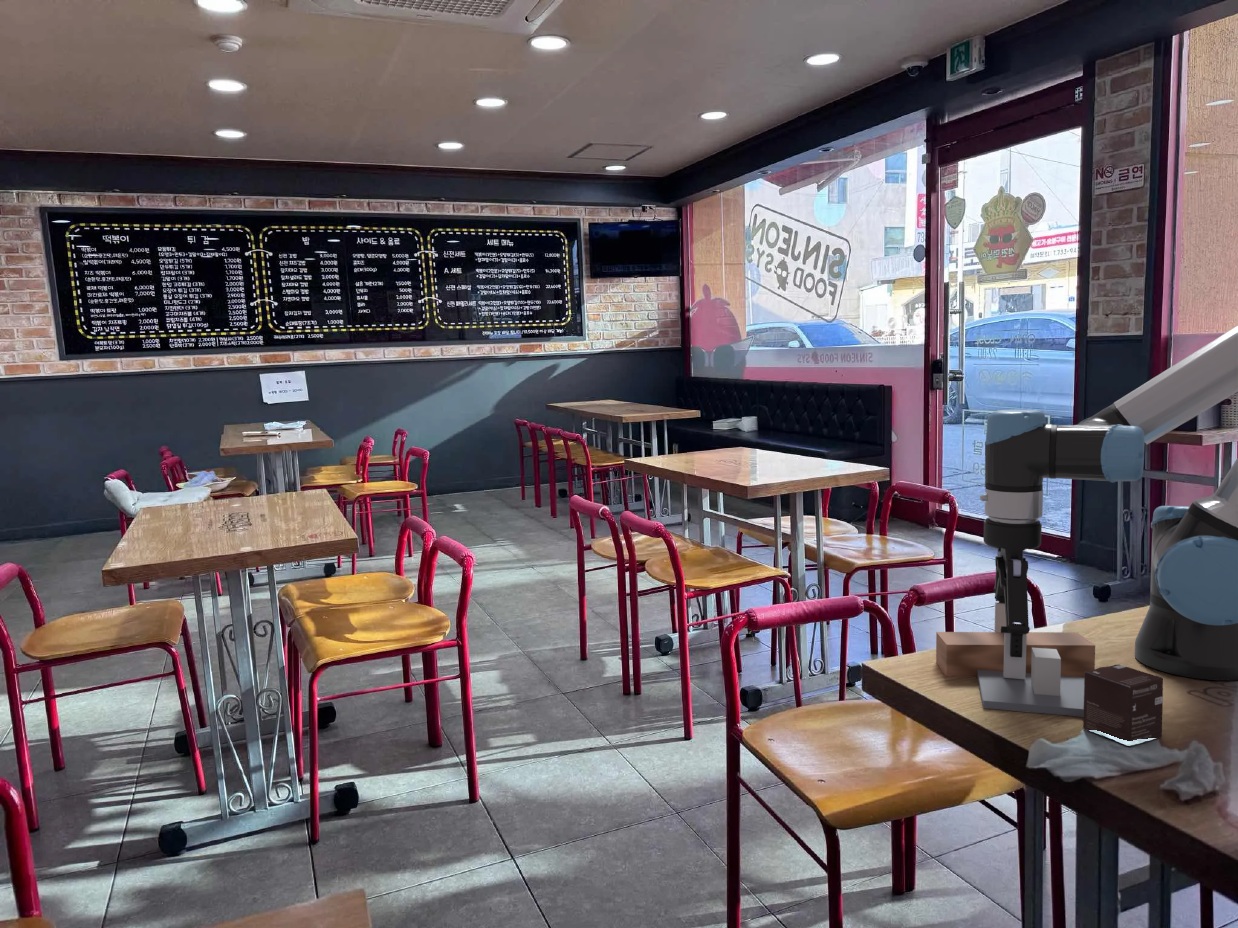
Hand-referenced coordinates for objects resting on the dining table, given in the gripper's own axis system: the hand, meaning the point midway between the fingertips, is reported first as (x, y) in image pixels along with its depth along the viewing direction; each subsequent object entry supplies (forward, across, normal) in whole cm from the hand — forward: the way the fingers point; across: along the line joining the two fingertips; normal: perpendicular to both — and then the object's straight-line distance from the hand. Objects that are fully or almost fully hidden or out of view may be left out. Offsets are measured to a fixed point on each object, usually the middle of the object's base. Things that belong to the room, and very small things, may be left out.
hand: (1008, 662), depth 125 cm
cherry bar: (+1, 0, 0) cm, 1 cm away
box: (+1, +21, +10) cm, 23 cm away
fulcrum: (+1, +10, +3) cm, 11 cm away
